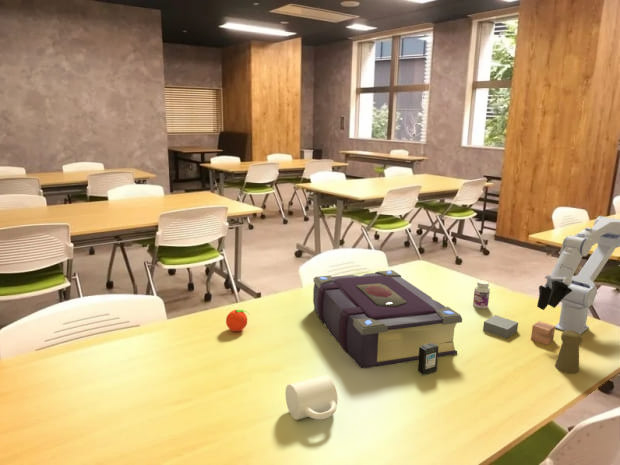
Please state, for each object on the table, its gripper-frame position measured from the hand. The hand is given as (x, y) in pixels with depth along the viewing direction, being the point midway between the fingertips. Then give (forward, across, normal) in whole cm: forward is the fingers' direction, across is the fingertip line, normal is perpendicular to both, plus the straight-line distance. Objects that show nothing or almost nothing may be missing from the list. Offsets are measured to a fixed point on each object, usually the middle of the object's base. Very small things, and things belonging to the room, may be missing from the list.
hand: (545, 307), depth 142 cm
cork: (+15, +7, +10) cm, 19 cm away
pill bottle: (+3, -32, -10) cm, 34 cm away
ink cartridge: (+37, +12, -24) cm, 46 cm away
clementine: (+56, -6, -79) cm, 97 cm away
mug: (+60, +32, -45) cm, 82 cm away
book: (+33, -11, -40) cm, 53 cm away
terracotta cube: (+8, -8, +6) cm, 13 cm away
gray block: (+11, -13, -5) cm, 18 cm away
